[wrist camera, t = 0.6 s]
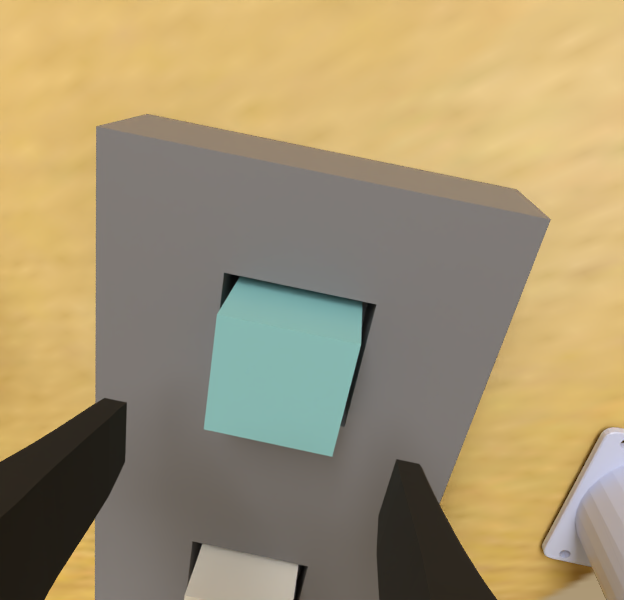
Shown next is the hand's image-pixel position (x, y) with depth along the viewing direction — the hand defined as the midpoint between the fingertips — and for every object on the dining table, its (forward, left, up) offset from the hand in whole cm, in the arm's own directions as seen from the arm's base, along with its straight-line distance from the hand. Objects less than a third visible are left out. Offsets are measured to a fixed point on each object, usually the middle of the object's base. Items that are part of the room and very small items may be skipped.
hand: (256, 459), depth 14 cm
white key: (0, +13, -6) cm, 14 cm away
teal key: (0, 0, -6) cm, 6 cm away
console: (0, +6, -9) cm, 11 cm away
